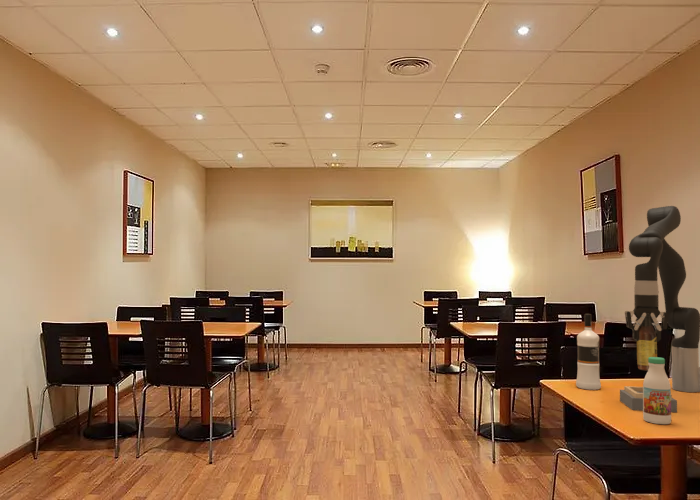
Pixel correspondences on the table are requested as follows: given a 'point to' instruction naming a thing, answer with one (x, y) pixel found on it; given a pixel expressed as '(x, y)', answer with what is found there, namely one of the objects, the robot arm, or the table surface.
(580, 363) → the vodka
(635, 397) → the tray
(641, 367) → the sauce bottle
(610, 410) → the table surface
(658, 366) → the milk bottle
